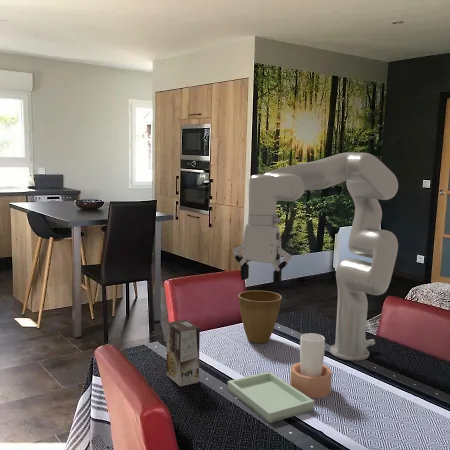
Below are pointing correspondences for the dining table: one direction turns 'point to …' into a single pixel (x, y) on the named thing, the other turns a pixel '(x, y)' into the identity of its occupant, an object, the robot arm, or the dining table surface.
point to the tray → (270, 396)
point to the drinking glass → (311, 354)
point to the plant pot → (259, 314)
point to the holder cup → (311, 382)
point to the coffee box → (183, 352)
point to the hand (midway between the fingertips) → (260, 281)
